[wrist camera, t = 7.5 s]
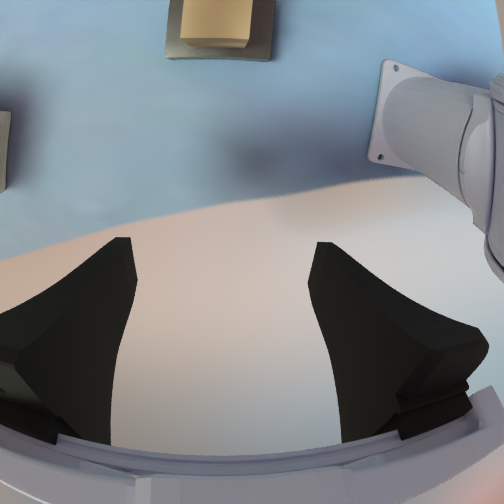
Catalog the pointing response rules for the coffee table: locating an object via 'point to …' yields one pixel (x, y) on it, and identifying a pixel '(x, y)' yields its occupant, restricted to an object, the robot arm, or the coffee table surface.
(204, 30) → the rail
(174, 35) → the rest block
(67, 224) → the coffee table surface
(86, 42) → the coffee table surface
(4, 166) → the supplement box
